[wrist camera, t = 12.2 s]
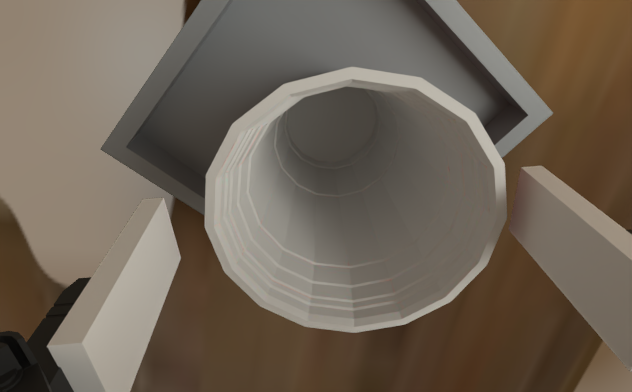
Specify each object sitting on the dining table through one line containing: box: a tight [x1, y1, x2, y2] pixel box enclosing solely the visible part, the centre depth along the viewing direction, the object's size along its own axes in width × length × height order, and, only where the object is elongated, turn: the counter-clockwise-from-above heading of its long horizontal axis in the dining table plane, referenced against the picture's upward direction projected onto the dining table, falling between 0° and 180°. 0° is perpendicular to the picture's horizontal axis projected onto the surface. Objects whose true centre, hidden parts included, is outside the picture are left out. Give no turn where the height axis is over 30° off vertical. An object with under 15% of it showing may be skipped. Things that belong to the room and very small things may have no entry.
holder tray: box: [101, 0, 553, 216], centre depth 24 cm, size 18×18×3 cm
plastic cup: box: [205, 67, 507, 333], centre depth 20 cm, size 11×11×12 cm
